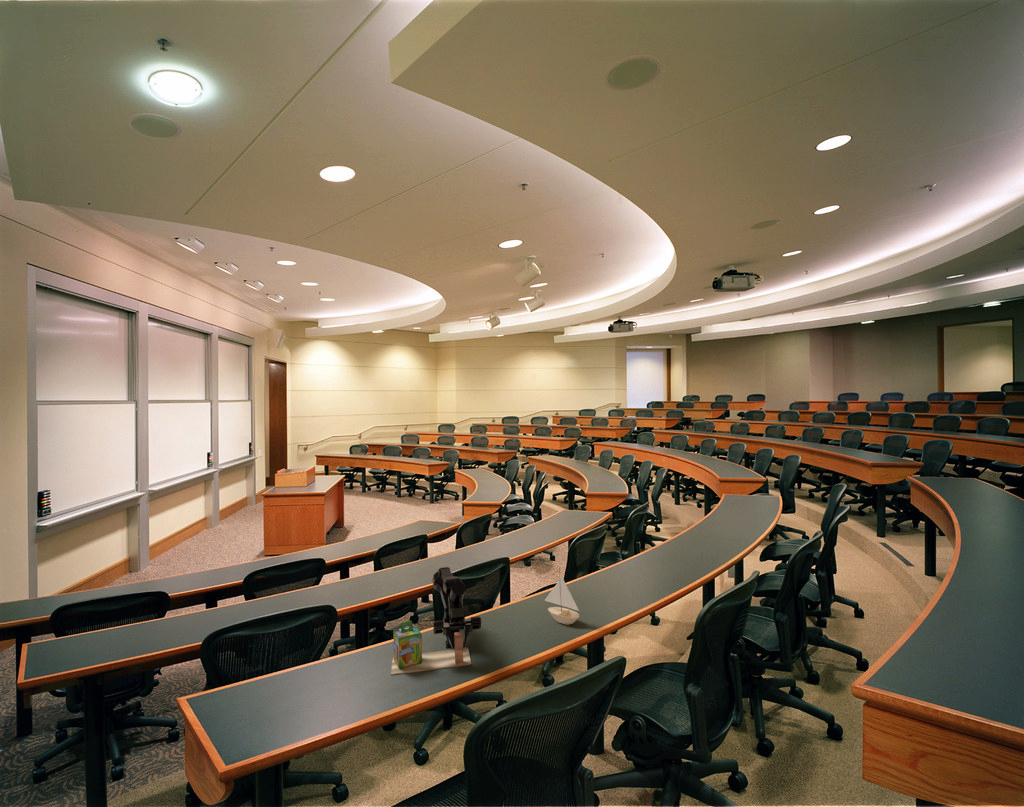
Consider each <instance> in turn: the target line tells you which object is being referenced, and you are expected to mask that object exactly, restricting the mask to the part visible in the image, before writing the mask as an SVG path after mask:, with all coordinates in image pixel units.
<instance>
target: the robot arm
mask: <svg viewBox="0 0 1024 807" xmlns="http://www.w3.org/2000/svg"><path fill="white" fill-rule="evenodd" d="M432 586H433V587H434V589H435V591H436V592H439V594H440V597H441V601H442V604H443V608H444V613H443V614H444V615H443V618H442V620H435V621H434V622H433V631H432V632H433V634H434V635H438V634H442V636H445V638H446V640H444V641H445V648H446V649H450V648H452V649H454V648H455V642H454V633H455V632H461V631H463V630H464V637H463V638H464V640H463V648H467V647H466V646H467V642H468V638H469V635H470V633H472V632H473V630H481V629H482V628H481V627H482V617H480V616H471V617H470V620H466V616H465V615H469V613H470V612H469V604H467V605H464V604H463V603H464V602H463V599H465V598H464V597H465V594H466V591H467V586H466V585H465V583H464V582H463V581H462V579H461V578H460V577H459V576H454V575H453V573H452V572H451V569H450V567H449V566H446V567H439V568H438V569H437V571H436V572H435V573H434V574H433V576H432ZM452 649H451V650H452Z"/></svg>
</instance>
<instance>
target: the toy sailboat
mask: <svg viewBox="0 0 1024 807" xmlns="http://www.w3.org/2000/svg"><path fill="white" fill-rule="evenodd" d="M558 570H559V571H558V572H559V580H558V581H557V583H556V584H555V586H554V587H553V588H552V589H551V591H550V592H549V594H548V595H547V596H546V598H545V599H544V601H545V602H549V603H552V604H555V605H558V606H551V607H548V608H547V611H548V613H550V614H549V615H551V616H552V618H553V619H554V620H555V621H556V622H557V623H559V624H561V623H562V624H563V625H567V626H570V624H571V625H572V624H574V623H575V622H577V621H578V619H579V618H580V614H579V613H578V612H580V609H579V607H578V605H577V604H576V602H575V600H574V597H573V595H572V593H571V591H570V589H569V587H568V585H567V584H566V582H565V579H564V578H563V575H562V574H561V566H559V568H558ZM562 624H561V625H562Z"/></svg>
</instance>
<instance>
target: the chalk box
mask: <svg viewBox="0 0 1024 807" xmlns="http://www.w3.org/2000/svg"><path fill="white" fill-rule="evenodd" d="M405 626H406V627H405ZM392 633H393V657H394V661H395V663H396V664H397V666H398V667H399V669H401V668H405V667H408V666H412V665H417V664H421V663H422V653H423V643H422V642H423V641H422V640H423V638H422V637H423V636H422V632H421V631H420V630H419V628H417V626H415V625H413V621H412V620H409V621H405V622H401V623H400V628H398V629H394V630H393V632H392Z"/></svg>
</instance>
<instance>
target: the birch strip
mask: <svg viewBox="0 0 1024 807" xmlns="http://www.w3.org/2000/svg"><path fill="white" fill-rule="evenodd" d="M463 638H464V637H463V631H460V632H455V633H454V642H455V647H454V648H453V649H447V650H438V651H437V650H436V651H429V652H422V663H421V664H417V665H412V666H408V667H405V668H401V669H399V667H398V666H397V664H396V663H395V661H394V656H393V657H392V661H391V670H390V671H391V672H390V676H394V675H403V674H411V673H417V672H426V671H432V670H442V669H449V668H456V667H464V666H465V667H466V666H471V665H472V660H471V656H470V651H469V647H464V640H463Z"/></svg>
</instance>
